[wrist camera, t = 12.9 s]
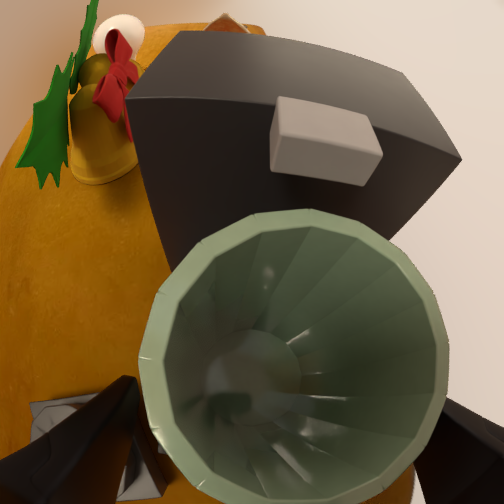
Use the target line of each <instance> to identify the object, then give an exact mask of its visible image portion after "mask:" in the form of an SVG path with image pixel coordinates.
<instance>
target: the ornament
mask: <svg viewBox="0 0 504 504" xmlns="http://www.w3.org/2000/svg"><path fill="white" fill-rule="evenodd" d="M98 1H99V0H91V2H90V5H87V13H86V20H85V24H84V27H83V29H82V30H81V36H80V45H79V48H78V51H77V53H76V55H75V57H73V60H72V56H73V52H71V55H70V58H69V60H68V63H67V66H66V68H65V70H64V72H63V73H61V71H60V68H59V65H56V68H55V71H54V75H53V78H52V82H51V86H50V89H49V91H48V94H47V96H46V97H45V99H44V100H41V101H39V102H36V103H34V104H33V106H34V108H33V126H32V131H31V135H30V138H29V140H28V143H27V145H26V147H25V150H24V152H23V154H22V155H21V157H20V159H19V161H18V163H17V164H16V166H15V168H21V167H31V166H33V167H34V168H35V169H36V173H37V177H38V181H39V188H40V189H42V187H43V185H44V183H45V180H46V178H47V176H48V174H49V173H51V174H52V175H53V178H54V181H55V183H56V186H57V188H58V187H59V181H60V171H61V165H62V162H63V161H64V163H65V165H66V167H68V157H67V144H68V146H69V133H68V103H67V95H68V90H69V88H70V94H75V93H76V91H77V88H78V83H80V85H81V87H82V88H81V89H80V90H79V91H78V92H77V93H76V95H75V96H74V97H73V99H72V100H71V102H70V104H69V111H70V122H71V131H72V139H73V145H72V149H71V170H72V173H73V175H74V177H75V178H76V179H77V180H78V181H79V182H81V183H84V184H89V185H97V184H103V183H107V182H110V181H113V180H115V179H117V178H119V177H121V176H123V175H124V174H126V173H127V172H129V171H130V170H131V169H132V168H134V167H135V166H136V164H137V163H138V159H137V155H136V151H135V146H134V142H133V138H132V133H131V129H130V124H129V119H128V115H127V110H126V104H125V97H126V96H127V94H128V93H129V92H130V90H131V89H132V87H133V86H134V85H135V83H136V82H137V81H138V79H139V78H140V77H141V76H142V74H143V73H144V72H145V71H144V70H143V68H142V67H141V66H140V65H139V63H137V62H136V61H134V60H132V59H130V58H131V56H132V53H133V49H132V47H131V46H130V45H129V43H128V42H127V40H126V39H125V38H124V36H123V35H122V34H121V32H120V31H119V30H118V29H111V30H110V31H109V32H108V33H107V35H106V38H105V44H104V45H105V51H106V53H99V54H96V55H93V56H91V57H90V58H88V59H87V60H86V57H87V54H88V52H89V49H90V47H91V39H92V34H93V29H94V26H95V23H96V19H97V14H96V12H97V6H98ZM74 59H75V62H74ZM71 62H72V63H71ZM73 63H74V69H73V73H72V76H71V72H72V67H73ZM70 76H71V78H70Z"/></svg>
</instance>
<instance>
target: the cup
mask: <svg viewBox="0 0 504 504" xmlns="http://www.w3.org/2000/svg"><path fill="white" fill-rule="evenodd" d="M448 342H449V339H448V336H447V332H446V329H445V326H444V322H443V319H442V315H441V312H440V309H439V306H438V303H437V300H436V297H435V295H434V294H433V290H432V289H431V288H430V286H429V285H428V283H427V282H426V281H425V279H424V278H423V277H422V275H421V274H420V272H419V271H418V270H417V268H416V267H415V265H414V264H413V263H412V262H411V260H410V259H409V258H408V256H407V255H406V254H405V253H404V252H403V251H402V250H401V249H399V248H398V247H397V246H395V245H394V244H392V243H391V242H389V241H388V240H387V239H385V238H384V237H382V236H381V235H379V234H378V233H377V232H375V231H374V230H372V229H371V228H369V227H368V226H366V225H365V224H363V223H360V222H359V221H356V220H352V219H349V218H345V217H342V216H338V215H334V214H330V213H327V212H323V211H319V210H315V209H295V210H284V211H274V212H263V213H255V214H254V215H253V214H252V215H249V216H247V217H245V218H243V219H241V220H239V221H237V222H235V223H233V224H231V225H230V226H228V227H226V228H224V229H222V230H220V231H218V232H216V233H214V234H212V235H210V236H208V237H206V238H204V239H202V240H201V241H200V242H198V243H197V244H196V245H195V246H194V248H193V249H192V250H191V251H190V252H189V253H188V255H187V256H186V257H185V258H184V259H183V260H182V262H181V263H180V264H179V265H178V266H177V268H176V269H175V270H174V271H173V272H172V273H171V275H170V276H169V277H168V278H167V279H166V281H165V282H164V283H163V284H162V285H161V287H160V288H159V289H158V292H157V293H156V295H155V298H154V301H153V305H152V308H151V311H150V315H149V318H148V322H147V325H146V329H145V332H144V336H143V339H142V343H141V347H140V351H139V354H138V358H139V360H138V367H139V373H140V380H141V386H142V392H143V397H144V403H145V408H146V413H147V418H148V422H149V427H150V428H151V429H152V433H153V435H154V436H155V438H156V439H157V441H158V442H159V443H160V445H161V446H162V448H163V449H164V450H165V452H166V453H167V454H168V456H169V457H170V458H171V460H172V461H173V462H174V464H175V465H176V466H177V467H178V469H179V470H180V471H181V472H182V474H183V475H184V476H185V477H186V478H187V480H188V481H189V482H190V483H191V484H192V485H193V486H196V488H197V489H198V490H200V491H202V492H204V493H206V494H207V495H209V496H211V497H213V498H215V499H217V500H219V501H221V502H223V503H225V504H359V503H361V502H363V501H365V500H367V499H370V498H372V497H374V496H376V495H377V494H379V493H381V492H383V490H386V489H387V488H388V487H389V486H390V485H391V484H392V483H393V482H394V481H395V480H396V479H397V478H398V477H399V476H400V475H401V474H402V473H403V472H404V471H405V470H406V469H407V468H408V467H409V466H410V465H411V464H412V463H413V461H414V460H415V459H416V458H417V457H418V456H419V455H420V454H421V452H422V451H423V450H424V448H425V447H426V446H427V444H428V442H429V439H430V437H431V435H432V433H433V431H434V428H435V426H436V424H437V421H438V419H439V416H440V414H441V411H442V409H443V406H444V403H445V400H446V395H447V391H448V377H449V343H448Z"/></svg>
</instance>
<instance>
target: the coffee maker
mask: <svg viewBox="0 0 504 504" xmlns="http://www.w3.org/2000/svg"><path fill="white" fill-rule="evenodd" d="M125 104H126V110H127V115H128V119H129V124H130V129H131V133H132V138H133V142H134V146H135V151H136V155H137V159H138V163H139V167H140V171H141V174H142V178H143V182H144V186H145V189H146V193H147V196H148V200H149V203H150V207H151V210H152V214H153V217H154V220H155V224H156V227H157V230H158V233H159V236H160V239H161V243H162V246H163V249H164V252H165V255H166V258H167V261H168V263H169V266H170V269H171V272H173V271H174V270H175V269H176V268H177V266H178V265H179V264H180V263H181V262H182V260H183V259H184V258H185V257H186V256H187V255H188V253H189V252H190V251H191V250H192V249H193V248H194V246H195V245H196V244H197V243H198V242H200V241H201V240H202V239H204V238H206V237H208V236H210V235H212V234H214V233H216V232H218V231H220V230H222V229H224V228H226V227H228V226H230V225H231V224H233V223H235V222H237V221H239V220H241V219H243V218H245V217H247V216H249V215H252V214H253V215H254V214H255V213H263V212H274V211H284V210H295V209H315V210H319V211H323V212H327V213H330V214H334V215H338V216H342V217H345V218H349V219H352V220H356V221H359V222H360V223H363V224H365V225H366V226H368V227H369V228H371V229H372V230H374V231H375V232H377V233H378V234H379V235H381V236H382V237H384V238H385V239H387V240H388V241H389V240H390V239H391V238H392V237H393V236H394V235H395V234H396V233H397V232H398V231H399V230H400V229H401V228H402V227H403V226H404V225H405V224H406V223H407V222H408V221H409V220H410V219H411V218H412V216H413V215H414V214H415V213H416V212H417V211H418V210H419V209H420V208H421V207H422V206H423V205H424V203H426V201H427V200H428V199H429V198H430V197H431V196H432V195H433V194H434V193H435V191H436V190H437V189H438V188H439V187H440V186H441V185H442V183H443V182H444V181H445V180H446V179H447V178H448V176H449V175H450V174H451V173H452V172H453V171H454V169H455V168H456V167H457V166H458V165H459V163H460V162H461V161H462V159H461V156H460V155H459V153H458V151H457V149H456V148H455V146H454V144H453V143H452V141H451V139H450V138H449V136H448V134H447V133H446V131H445V130H444V128H443V127H442V125H441V124H440V122H439V121H438V119H437V118H436V116H435V115H434V113H433V112H432V110H431V109H430V108H429V106H428V105H427V104H426V102H425V101H424V99H423V98H422V97H421V95H420V94H419V93H418V91H416V89H415V88H414V86H413V85H412V84H411V83H410V81H409V80H408V79H407V78H406V77H405V75H404V74H403V73H401V72H399V71H397V70H394V69H392V68H389V67H387V66H384V65H381V64H379V63H376V62H373V61H370V60H367V59H364V58H361V57H358V56H355V55H352V54H349V53H345V52H342V51H338V50H335V49H331V48H327V47H323V46H319V45H315V44H310V43H305V42H300V41H296V40H290V39H285V38H279V37H272V36H266V35H258V34H249V33H238V32H224V31H180V32H179V33H178V34H177V35H176V36H175V37H174V38H173V39H172V40H171V41H170V42H169V43H168V45H167V46H166V47H165V48H164V49H163V50H162V51H161V52H160V54H159V55H158V56H157V57H156V58H155V60H154V61H153V62H152V63H151V64H150V66H149V67H148V68H147V69H146V71H145V72H144V73H143V74H142V76H141V77H140V78H139V79H138V81H137V82H136V83H135V85H134V86H133V87H132V89H131V90H130V92H129V93H128V94H127V96H126V97H125ZM158 453H161V454H167V453H166V452H165V450H164V449H163V448H162V446H161V445H160V443H159V442H158ZM167 455H168V454H167Z"/></svg>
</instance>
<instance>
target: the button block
mask: <svg viewBox="0 0 504 504" xmlns="http://www.w3.org/2000/svg"><path fill="white" fill-rule="evenodd" d="M99 393H100V392H97V393H92V394H86V395H81V396H74V397H68V398H61V399H54V400H46V401H37V402H30V403H29V404H30V408H31V412H32V416H33V419H34V420H33V421H32V426H31V439H30V443H32V442H33V441H35V440H36V439H38V438H39V437H41V436H42V435H43V434H45V433H46V432H48V433H49V430H50V429H52V428H53V427H54V426H56V425H57V424H58V423H60V422H61V421H63V420H64V419H65V418H67V417H68V416H69V415H71V414H72V413H73V412H75V411H76V410H77V409H79V408H80V407H81V406H83V405H84V404H85V403H87V402H88V401H89V400H91V399H92V398H93V397H95V396H96V395H97V394H99ZM167 486H168V485H167V483H166V481H165V479H164V477H163V475H162V472H161V470H160V468H159V466H158V464H157V462H156V460H155V457H154V455H153V453H152V450H151V448H150V446H149V443H148V441H147V438H146V436H145V433H144V431H143V428H142V426H141V423H140V420H139V418H138V415H137V418H136V424H135V430H134V435H133V441H132V444H131V448H130V451H129V455H128V458H127V462H126V465H125V468H124V472H123V476H122V479H121V483H120V487H119V490H118V494H117V498H116V501H132V500H143V499H152V498H159V497H162V496H163V494H164V492H165V490H166V488H167Z"/></svg>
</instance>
